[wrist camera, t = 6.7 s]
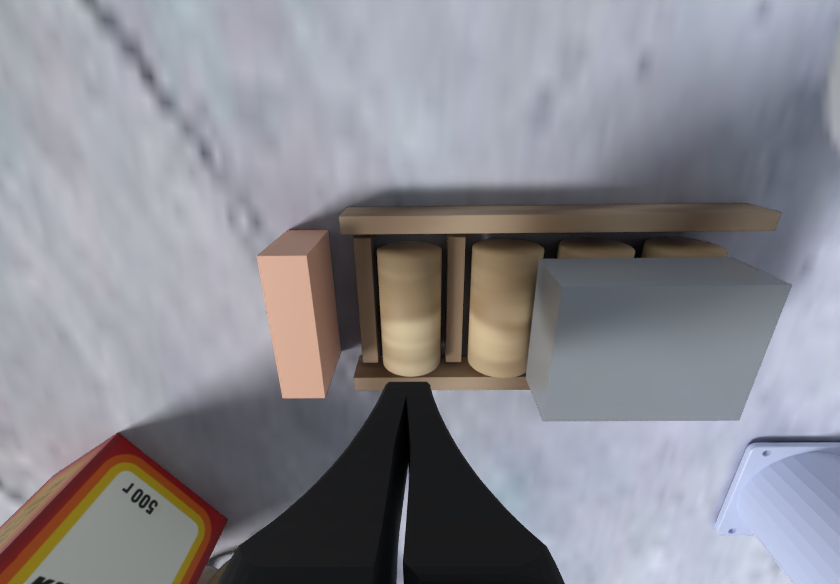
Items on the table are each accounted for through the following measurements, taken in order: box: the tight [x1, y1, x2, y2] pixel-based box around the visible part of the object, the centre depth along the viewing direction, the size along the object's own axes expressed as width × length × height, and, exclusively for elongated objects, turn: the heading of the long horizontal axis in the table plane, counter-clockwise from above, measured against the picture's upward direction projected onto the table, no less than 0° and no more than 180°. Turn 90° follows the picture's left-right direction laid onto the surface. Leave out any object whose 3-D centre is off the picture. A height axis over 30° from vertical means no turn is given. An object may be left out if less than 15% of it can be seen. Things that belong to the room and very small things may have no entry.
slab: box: [526, 257, 792, 421], centre depth 17 cm, size 8×6×3 cm
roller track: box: [339, 203, 782, 391], centre depth 19 cm, size 19×9×3 cm, turn 91°
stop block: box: [257, 230, 341, 398], centre depth 19 cm, size 2×7×4 cm, turn 0°
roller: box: [377, 242, 442, 377], centre depth 20 cm, size 6×3×3 cm, turn 1°
